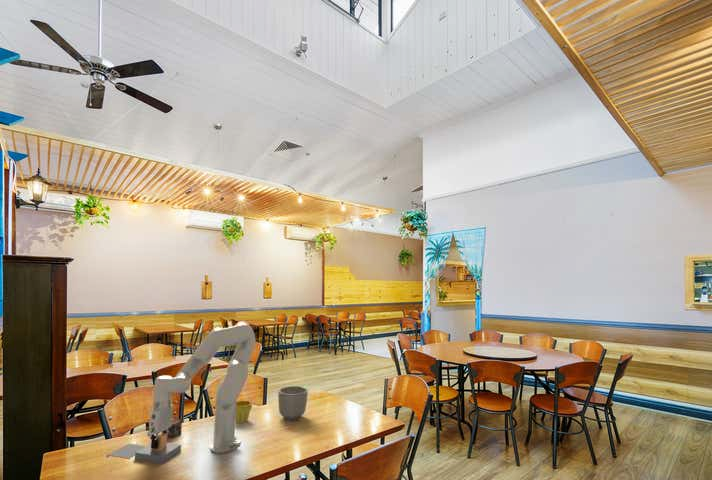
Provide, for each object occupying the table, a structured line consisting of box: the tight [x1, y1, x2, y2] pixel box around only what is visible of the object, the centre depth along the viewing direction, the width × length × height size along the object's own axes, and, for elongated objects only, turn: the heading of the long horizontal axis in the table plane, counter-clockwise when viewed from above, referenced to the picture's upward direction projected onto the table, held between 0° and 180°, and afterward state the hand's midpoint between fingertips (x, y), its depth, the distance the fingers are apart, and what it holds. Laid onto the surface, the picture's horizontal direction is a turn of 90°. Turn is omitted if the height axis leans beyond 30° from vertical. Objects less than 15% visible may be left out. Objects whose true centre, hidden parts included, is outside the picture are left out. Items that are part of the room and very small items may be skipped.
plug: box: [151, 432, 168, 451], centre depth 167 cm, size 5×4×9 cm
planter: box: [277, 385, 309, 422], centre depth 216 cm, size 17×17×16 cm
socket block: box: [134, 442, 182, 465], centre depth 166 cm, size 14×12×4 cm
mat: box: [106, 443, 147, 459], centre depth 170 cm, size 12×12×1 cm
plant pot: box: [235, 400, 253, 424], centre depth 210 cm, size 10×10×10 cm
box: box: [167, 418, 183, 439], centre depth 188 cm, size 6×6×7 cm
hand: (159, 445), depth 167 cm, fingers open, 4 cm apart
